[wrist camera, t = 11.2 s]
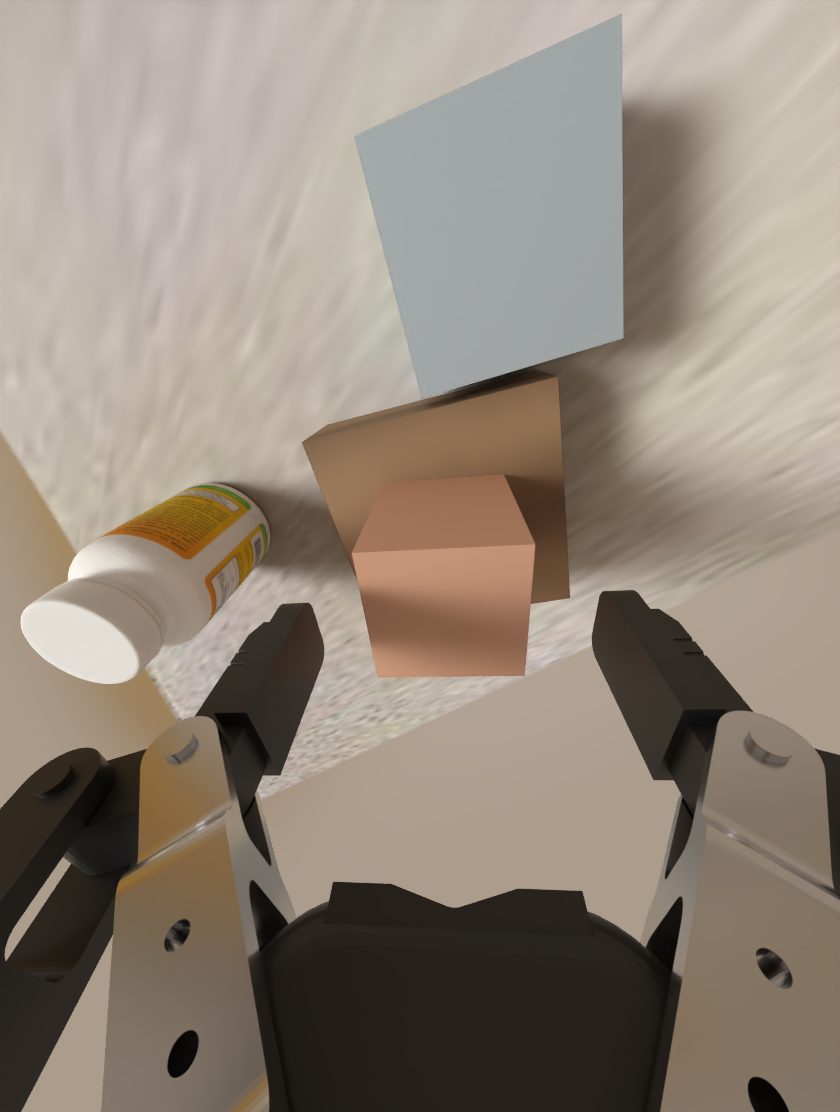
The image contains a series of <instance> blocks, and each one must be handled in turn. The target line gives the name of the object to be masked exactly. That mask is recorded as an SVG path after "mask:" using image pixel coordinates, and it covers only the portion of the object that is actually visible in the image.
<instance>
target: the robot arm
mask: <svg viewBox="0 0 840 1112" xmlns="http://www.w3.org/2000/svg"><path fill="white" fill-rule="evenodd" d="M592 646H593V651H594V655H595V658H596V660H597V662H598V664H599V666H600V668H601V670H602V673H603V675H604V677H605V679H606V681H607V683H608V685H609V687H610V689H611V691H612V694H613V695H614V698H615V700H616V702H617V704H618V706H619V708H620V710H621V712H622V714H623V716H624V719H625V721H626V723H627V725H628V727H629V729H630V731H631V733H632V736H633V738H634V740H635V742H636V744H637V746H638V748H639V750H640V752H641V754H642V756H643V759H644V761H645V763H646V765H647V767H648V769H649V771H650V773H651V775H652V778H653V780H674V781H675V783H676V785H677V787H678V788H679V791H680V792H681V795H680V797H679V799H678V802H677V807H676V811H675V815H674V819H673V824H672V828H671V832H670V836H669V840H668V845H667V849H666V853H665V858H664V862H663V866H662V870H661V875H660V879H659V883H658V886H657V889H656V893H655V896H654V898H653V901H652V903H651V906H650V909H649V912H648V915H647V918H646V921H645V925H644V929H643V932H642V937H641V940H640V943H639V942H638V941H637V940H636V939H634V938H633V937H632V936H631V935H629V934H628V933H626V932H625V931H623V930H622V929H620V928H619V927H617V926H616V925H614V924H613V923H611V922H609V921H607V920H605V919H603V918H602V917H600V916H598V915H596V914H593V913H590V912H588V911H587V908H586V904H585V900H584V896H583V892H582V891H564V890H538V889H515V890H512V891H509V892H506V893H503V894H500V895H497V896H494V897H490V898H487V899H484V900H481V901H478V902H475V903H472V904H469V905H465V906H462V907H459V908H451V907H447V906H445V905H442V904H440V903H437V902H435V901H432V900H430V899H427V898H425V897H422V896H420V895H417V894H415V893H412V892H410V891H407V890H405V889H402V888H400V887H397V886H395V885H392V884H377V883H376V884H375V883H350V882H333V885H332V890H331V895H330V900H329V901H328V902H325V903H323V904H321V905H319V906H317V907H315V908H312V909H310V910H308V911H307V912H305V913H304V914H302V915H301V916H299V917H298V918H296V916H295V912H294V909H293V906H292V903H291V900H290V898H289V895H288V892H287V890H286V888H285V886H284V884H283V881H282V878H281V876H280V873H279V869H278V866H277V862H276V859H275V854H274V851H273V847H272V843H271V839H270V835H269V831H268V827H267V824H266V820H265V816H264V812H263V808H262V804H261V800H260V796H259V794H258V791H257V788H258V785H259V783H260V781H261V778H262V776H263V775H281V772H282V769H283V767H284V764H285V761H286V759H287V756H288V753H289V751H290V748H291V745H292V743H293V740H294V737H295V735H296V732H297V729H298V727H299V724H300V722H301V719H302V716H303V714H304V711H305V708H306V706H307V703H308V700H309V698H310V695H311V692H312V690H313V687H314V684H315V682H316V679H317V676H318V674H319V671H320V668H321V666H322V663H323V659H324V643H323V639H322V636H321V633H320V630H319V627H318V623H317V620H316V617H315V614H314V611H313V608H312V606H311V604H309V603H292V604H282V605H280V606H279V608H278V609H277V611H276V613H275V614H274V616H273V617H272V619H271V621H270V622H264V623H263V624H261V625H260V626H259V627H258V628H257V629H255V630H254V631H253V632H252V633H251V634H250V635H248V637H247V638H246V640H245V641H244V643H243V644H242V646H241V647H240V649H239V653H236V655H235V657H234V658H233V660H232V661H231V665H230V666H228V667H227V669H226V670H225V672H224V673H223V675H222V676H221V678H220V679H219V681H218V682H217V684H216V685H215V687H214V688H213V690H212V691H211V693H210V694H209V696H208V697H207V699H206V700H205V702H204V703H203V705H202V706H201V708H200V709H199V711H198V712H197V714H196V715H195V716H194V717H190V718H187V719H184V720H182V721H179V722H177V723H176V724H174V725H172V726H171V727H169V728H167V729H166V730H165V731H164V732H162V733H161V734H160V735H159V736H158V737H157V738H156V739H155V740H154V741H153V742H152V743H151V744H150V746H149V747H148V749H145V750H142V751H139V752H135V753H132V754H128V755H125V756H122V757H119V758H115V759H112V760H109V761H106V759H105V758H104V757H103V756H102V755H101V754H100V753H99V752H98V751H97V750H95V749H93V748H79V749H76V750H72V751H70V752H67V753H65V754H63V755H60V756H58V757H57V758H55V759H53V760H51V761H50V762H48V763H47V764H45V765H44V766H42V767H41V768H40V769H39V770H37V771H36V772H35V773H34V774H33V775H31V776H30V777H29V778H28V779H27V780H26V781H25V782H24V783H23V784H22V785H21V787H20V788H19V789H18V790H17V791H16V792H15V793H14V794H13V796H12V797H11V798H10V799H9V800H8V801H7V802H6V803H5V804H4V805H3V807H2V808H1V809H0V1112H21V1111H22V1109H23V1107H24V1105H25V1103H26V1101H27V1099H28V1097H29V1095H30V1093H31V1091H32V1090H33V1087H34V1086H35V1084H36V1082H37V1080H38V1078H39V1076H40V1074H41V1072H42V1070H43V1068H44V1066H45V1064H46V1063H47V1060H48V1059H49V1056H50V1055H51V1053H52V1051H53V1049H54V1047H55V1045H56V1043H57V1041H58V1039H59V1037H60V1035H61V1034H62V1031H63V1030H64V1028H65V1026H66V1024H67V1022H68V1020H69V1018H70V1016H71V1014H72V1012H73V1010H74V1008H75V1006H76V1004H77V1003H78V1001H79V999H80V997H81V995H82V993H83V991H84V989H85V987H86V985H87V983H88V981H89V979H90V977H91V975H92V974H93V971H94V970H95V968H96V966H97V964H98V962H99V960H100V958H101V956H102V954H103V952H104V950H105V948H106V946H107V945H108V943H109V941H110V939H111V937H112V935H113V942H112V957H111V972H110V987H109V1003H108V1019H107V1035H106V1050H105V1063H104V1079H103V1094H102V1109H101V1112H840V755H837V754H833V753H829V752H825V751H821V750H818V749H815V748H813V746H812V745H811V744H810V743H809V742H808V741H807V740H806V739H804V738H803V737H802V736H801V735H800V734H798V733H797V732H796V731H794V730H793V729H791V728H789V727H788V726H787V725H785V724H783V723H781V722H779V721H777V720H775V719H773V718H770V717H768V716H765V715H762V714H758V713H754V712H753V711H752V710H751V709H750V708H749V706H748V705H747V704H746V703H745V701H744V700H743V699H742V698H741V696H740V695H739V694H738V693H737V692H736V690H735V689H734V688H733V687H732V686H731V684H730V683H729V682H728V681H727V680H726V678H725V677H724V676H723V675H722V674H721V672H720V671H719V670H718V669H717V668H716V666H715V665H714V664H713V663H712V662H711V660H710V659H709V658H708V657H707V656H704V654H703V651H702V649H701V648H700V647H699V646H698V645H697V643H696V642H693V641H692V637H691V636H690V635H689V634H688V633H687V632H686V631H685V629H684V628H683V627H682V625H681V624H680V623H679V622H678V621H676V620H675V619H673V618H672V617H670V616H669V615H667V614H666V613H664V612H663V611H661V610H660V609H650V608H649V607H648V605H647V604H646V603H645V601H644V600H643V599H642V598H641V596H640V595H639V594H638V593H637V592H636V591H634V590H623V591H603V592H602V593H601V594H600V597H599V602H598V607H597V612H596V617H595V622H594V627H593V632H592ZM62 857H63V858H65V859H66V860H68V861H69V862H70V863H71V865H70V867H69V868H68V869H67V871H66V872H65V874H64V876H63V877H62V879H61V880H60V881H59V883H58V884H57V886H56V888H55V889H54V891H53V892H52V893H51V895H50V897H49V898H48V899H47V901H46V903H45V904H44V906H43V907H42V909H41V910H40V912H39V913H38V914H37V916H36V917H35V919H34V920H33V922H32V923H31V925H30V926H29V928H28V929H27V931H26V932H25V934H24V936H23V937H22V938H21V940H20V942H19V943H18V944H17V946H16V947H15V949H14V950H13V952H12V953H11V955H10V956H9V958H8V959H7V961H5V956H4V954H5V947H6V944H7V941H8V938H9V936H10V934H11V932H12V930H13V928H14V927H15V925H16V924H17V922H18V921H19V919H20V918H21V916H22V915H23V913H24V912H25V911H26V909H27V908H28V906H29V905H30V903H31V902H32V900H33V899H34V897H35V896H36V895H37V893H38V892H39V890H40V889H41V887H42V886H43V885H44V883H45V881H46V880H47V878H48V877H49V876H50V874H51V873H52V872H53V870H54V869H55V867H56V866H57V864H58V863H59V861H60V860H61V859H62Z"/></svg>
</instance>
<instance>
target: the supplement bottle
mask: <svg viewBox="0 0 840 1112" xmlns="http://www.w3.org/2000/svg"><path fill="white" fill-rule="evenodd" d="M269 544H270V529H269V525H268V522H267V520H266V518H265V516H264V514H263V513H262V511H261V510H260V509H259V507H258V506H257V505H256V504H255V503H254V502H253V501H252V500H251V499H250V498H248V497H247V496H246V495H244V494H243V493H241V492H239V491H237V490H236V489H233V488H231V487H229V486H226V485H222V484H216V483H204V484H198V485H195V486H192V487H190V488H188V489H186V490H184V491H182V492H180V493H178V494H176V495H175V496H173V497H171V498H170V499H168V500H166V501H164V502H163V503H161V504H159V505H157V506H155V507H154V508H152V509H150V510H148V511H146V512H145V513H143V514H141V515H139V516H138V517H135V518H134V519H132V520H130V521H128V522H126V523H125V524H123V525H121V526H119V527H118V528H116V529H114V530H113V531H111V532H109V533H107V534H105V535H104V536H102V537H100V538H98V539H97V540H95V541H93V542H92V543H91V544H89V545H88V546H86V547H84V548H83V549H82V550H81V551H80V552H79V553H78V554H77V555H76V557H75V558H74V560H73V562H72V564H71V566H70V569H69V573H68V581H67V582H65V583H64V584H61V585H59V586H57V587H55V588H54V589H52V590H51V591H49V592H48V593H46V594H45V595H43V596H42V597H40V598H39V599H37V600H36V601H34V602H33V603H31V604H30V605H29V606H28V607H27V608H26V609H25V610H24V611H23V613H22V616H21V628H22V632H23V634H24V636H25V637H26V639H27V641H28V642H29V643H30V645H31V646H32V647H33V648H34V649H35V650H36V651H37V652H38V653H39V654H40V655H41V656H42V657H43V658H44V659H46V660H47V661H48V662H50V663H51V664H53V665H54V666H56V667H57V668H59V669H61V670H63V671H65V672H67V673H69V674H71V675H74V676H76V677H79V678H81V679H84V680H88V681H91V682H97V683H103V684H115V683H122V682H126V681H128V680H130V679H132V678H134V677H135V676H136V675H137V674H138V673H139V672H140V671H141V670H142V669H143V668H144V667H145V666H146V665H147V664H148V663H149V662H150V661H151V660H152V659H153V658H154V657H155V656H156V655H157V654H158V653H159V651H160V649H161V648H169V647H174V646H177V645H180V644H183V643H185V642H187V641H189V640H190V639H192V638H193V637H195V636H196V635H197V634H198V633H199V632H200V631H201V630H202V629H203V628H204V627H205V626H206V624H207V623H208V622H209V621H210V620H211V619H212V617H213V616H214V615H215V614H216V613H217V611H218V610H219V609H220V608H221V607H222V606H223V604H224V603H225V602H226V601H227V600H228V599H229V597H230V596H231V595H232V594H233V593H234V592H235V590H236V589H237V588H238V587H239V586H240V585H241V583H242V582H243V581H244V580H245V579H246V578H247V576H248V575H249V574H250V573H251V572H252V571H253V569H254V568H255V567H256V566H257V565H258V563H259V562H260V561H261V560H262V558H263V557H264V555H265V554H266V552H267V550H268V547H269Z"/></svg>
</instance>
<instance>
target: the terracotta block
mask: <svg viewBox="0 0 840 1112" xmlns="http://www.w3.org/2000/svg"><path fill="white" fill-rule="evenodd" d="M534 555H535V542H534V540H533V538H532V536H531V534H530V531H529V529H528V527H527V525H526V522H525V520H524V518H523V516H522V514H521V511H520V509H519V507H518V505H517V502H516V500H515V498H514V496H513V494H512V491H511V489H510V487H509V485H508V482H507V480H506V478H505V476H504V475H489V476H474V477H459V478H444V479H429V480H414V481H399V482H383V485H382V487H381V489H380V491H379V493H378V496H377V498H376V500H375V502H374V505H373V507H372V509H371V511H370V513H369V516H368V518H367V520H366V522H365V524H364V527H363V529H362V531H361V533H360V536H359V538H358V540H357V542H356V544H355V547H354V549H353V551H352V557H353V562H354V567H355V571H356V576H357V581H358V586H359V590H360V595H361V600H362V605H363V609H364V614H365V619H366V624H367V628H368V633H369V638H370V643H371V647H372V652H373V657H374V662H375V666H376V671H377V676H378V677H453V676H525V665H526V653H527V641H528V629H529V616H530V604H531V592H532V579H533V567H534Z"/></svg>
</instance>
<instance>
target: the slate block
mask: <svg viewBox="0 0 840 1112" xmlns="http://www.w3.org/2000/svg"><path fill="white" fill-rule="evenodd" d="M354 138H355V141H356V145H357V149H358V153H359V157H360V161H361V165H362V169H363V173H364V176H365V180H366V184H367V188H368V192H369V196H370V200H371V204H372V207H373V211H374V215H375V219H376V223H377V227H378V231H379V235H380V239H381V242H382V246H383V250H384V254H385V258H386V262H387V266H388V270H389V273H390V277H391V281H392V285H393V289H394V293H395V297H396V301H397V304H398V308H399V312H400V316H401V320H402V324H403V328H404V332H405V336H406V339H407V343H408V347H409V351H410V355H411V359H412V363H413V367H414V370H415V374H416V378H417V382H418V386H419V390H420V394H421V398H425V397H429V396H432V395H436V394H439V393H442V392H446V391H449V390H452V389H456V388H459V387H462V386H466V385H469V384H472V383H476V382H479V381H482V380H486V379H489V378H492V377H496V376H499V375H502V374H506V373H509V372H512V371H516V370H519V369H522V368H526V367H529V366H533V365H536V364H539V363H543V362H546V361H549V360H553V359H556V358H559V357H563V356H566V355H569V354H573V353H576V352H579V351H583V350H586V349H589V348H593V347H596V346H599V345H603V344H606V343H609V342H613V341H616V340H620V339H623V157H622V14H620V15H618V16H616V17H614V18H611V19H609V20H607V21H605V22H603V23H600V24H598V25H596V26H594V27H592V28H590V29H587V30H585V31H583V32H581V33H579V34H576V35H574V36H572V37H570V38H568V39H565V40H563V41H561V42H559V43H557V44H555V45H552V46H550V47H548V48H546V49H544V50H541V51H539V52H537V53H535V54H533V55H530V56H528V57H526V58H524V59H522V60H520V61H517V62H515V63H513V64H511V65H509V66H506V67H504V68H502V69H500V70H498V71H495V72H493V73H491V74H489V75H487V76H485V77H482V78H480V79H478V80H476V81H474V82H471V83H469V84H467V85H465V86H463V87H460V88H458V89H456V90H454V91H452V92H450V93H447V94H445V95H443V96H441V97H439V98H436V99H434V100H432V101H430V102H428V103H425V104H423V105H421V106H419V107H417V108H415V109H412V110H410V111H408V112H406V113H404V114H401V115H399V116H397V117H395V118H393V119H390V120H388V121H386V122H384V123H382V124H380V125H377V126H375V127H373V128H371V129H369V130H366V131H364V132H362V133H360V134H358V135H355V136H354Z"/></svg>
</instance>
